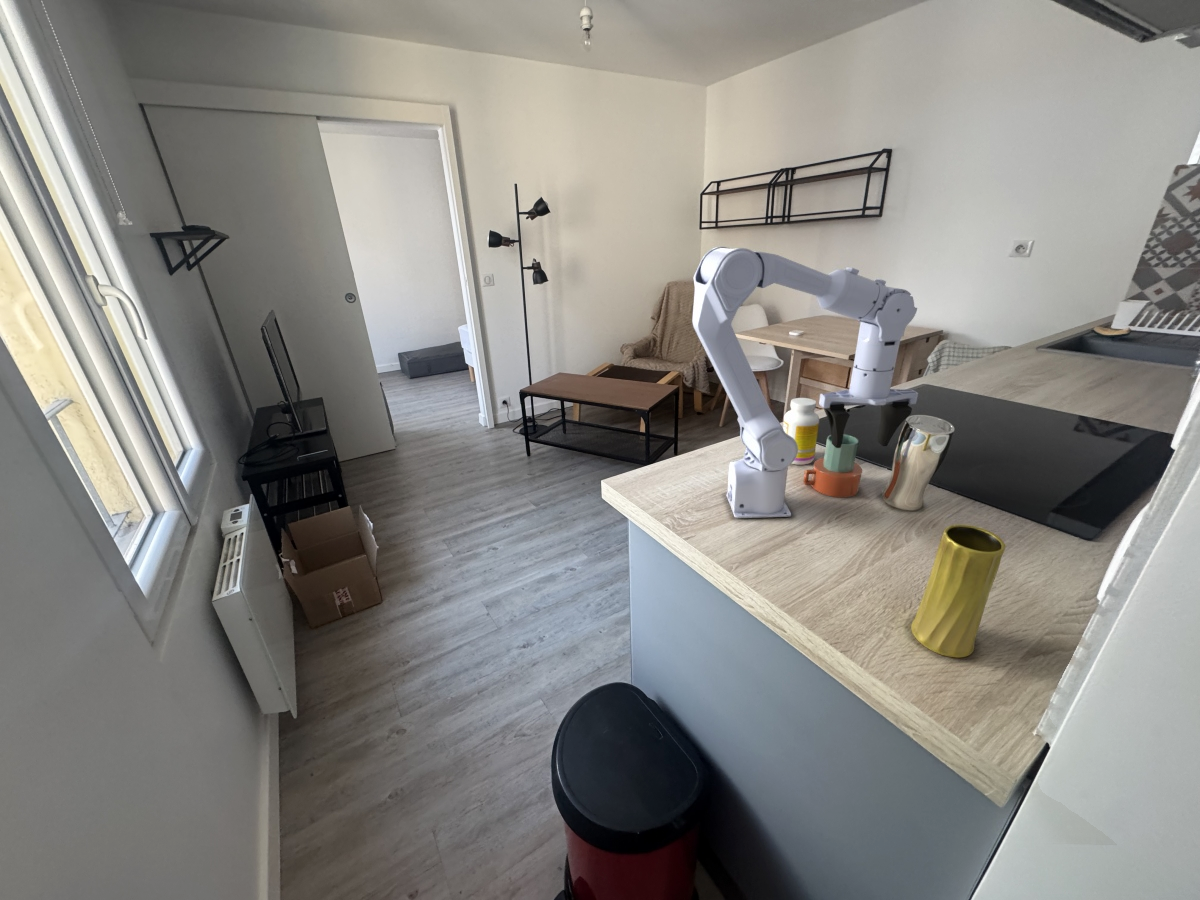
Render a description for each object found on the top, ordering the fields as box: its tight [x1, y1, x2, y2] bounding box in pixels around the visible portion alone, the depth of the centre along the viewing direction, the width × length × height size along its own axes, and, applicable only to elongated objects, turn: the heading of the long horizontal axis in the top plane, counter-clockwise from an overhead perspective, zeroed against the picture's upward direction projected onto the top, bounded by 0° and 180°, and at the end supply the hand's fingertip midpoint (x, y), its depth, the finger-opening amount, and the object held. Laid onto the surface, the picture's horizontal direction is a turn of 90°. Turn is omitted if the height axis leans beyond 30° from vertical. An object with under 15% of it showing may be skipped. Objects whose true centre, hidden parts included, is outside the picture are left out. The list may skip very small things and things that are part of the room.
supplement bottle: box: [782, 397, 820, 466], centre depth 96 cm, size 7×7×13 cm
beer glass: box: [881, 414, 955, 512], centre depth 78 cm, size 7×7×15 cm
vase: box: [910, 524, 1006, 659], centre depth 52 cm, size 6×6×14 cm
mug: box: [802, 457, 863, 498], centre depth 87 cm, size 10×8×4 cm
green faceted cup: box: [823, 433, 859, 473], centre depth 85 cm, size 5×5×6 cm
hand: (858, 444), depth 80 cm, fingers open, 7 cm apart
